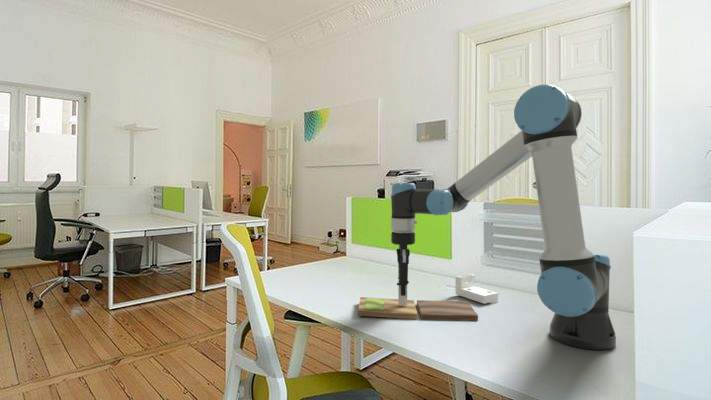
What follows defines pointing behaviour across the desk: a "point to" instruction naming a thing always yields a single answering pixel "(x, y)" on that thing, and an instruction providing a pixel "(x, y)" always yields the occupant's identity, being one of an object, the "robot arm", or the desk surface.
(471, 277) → the bracket
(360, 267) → the desk surface
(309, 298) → the desk surface
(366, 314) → the board
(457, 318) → the walnut laid plank
